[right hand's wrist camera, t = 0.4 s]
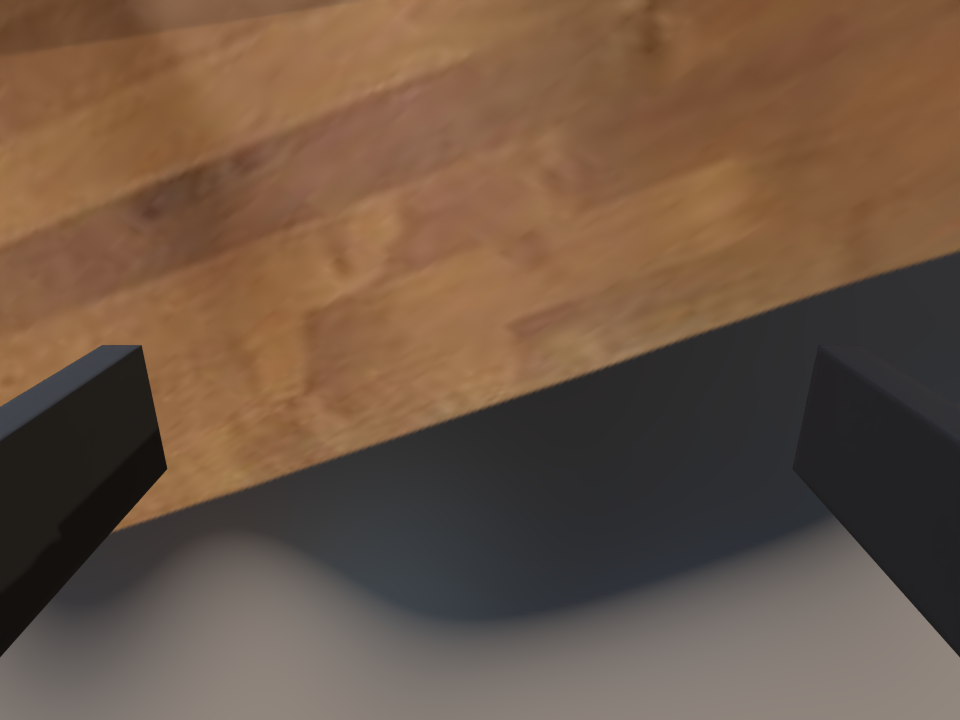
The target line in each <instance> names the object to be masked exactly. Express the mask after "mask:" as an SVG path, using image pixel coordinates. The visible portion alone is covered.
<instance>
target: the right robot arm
mask: <svg viewBox="0 0 960 720" xmlns="http://www.w3.org/2000/svg"><path fill="white" fill-rule="evenodd" d="M166 470H167V465H166V460H165V456H164V451H163V446H162V441H161V436H160V432H159V427H158V422H157V417H156V412H155V407H154V403H153V398H152V393H151V388H150V383H149V379H148V374H147V369H146V364H145V359H144V355H143V350H142V345H102V346H100V347H98V348H97V349H95V350H93V351H92V352H90V353H89V354H87V355H85V356H84V357H82V358H80V359H79V360H77V361H75V362H74V363H72V364H70V365H69V366H67V367H65V368H64V369H62V370H60V371H59V372H57V373H55V374H54V375H52V376H51V377H49V378H47V379H46V380H44V381H42V382H41V383H39V384H37V385H36V386H34V387H32V388H31V389H29V390H27V391H26V392H24V393H22V394H21V395H19V396H18V397H16V398H14V399H13V400H11V401H9V402H8V403H6V404H4V405H3V406H1V407H0V657H1V656H2V655H3V653H4V652H5V651H6V650H7V649H8V648H9V647H10V645H11V644H12V643H13V642H14V641H15V640H16V639H17V638H18V636H19V635H20V634H21V633H22V632H23V631H24V630H25V629H26V627H27V626H28V625H29V624H30V623H31V622H32V621H33V620H34V618H35V617H36V616H37V615H38V614H39V613H40V612H41V611H42V609H43V608H44V607H45V606H46V605H47V604H48V603H49V602H50V600H51V599H52V598H53V597H54V596H55V595H56V594H57V593H58V591H59V590H60V589H61V588H62V587H63V586H64V585H65V584H66V582H67V581H68V580H69V579H70V578H71V577H72V576H73V574H74V573H75V572H76V571H77V570H78V569H79V568H80V567H81V565H82V564H83V563H84V562H85V561H86V560H87V559H88V558H89V557H90V555H91V554H92V553H93V552H94V551H95V550H96V549H97V547H98V546H99V545H100V544H101V543H102V542H103V541H104V540H105V538H106V537H107V536H108V535H109V534H110V533H111V532H112V531H113V529H114V528H115V527H116V526H117V525H118V524H119V523H120V522H121V520H122V519H123V518H124V517H125V516H126V515H127V514H128V513H129V511H130V510H131V509H132V508H133V507H134V506H135V505H136V504H137V502H138V501H139V500H140V499H141V498H142V497H143V496H144V495H145V493H146V492H147V491H148V490H149V489H150V488H151V487H152V486H153V484H154V483H155V482H156V481H157V480H158V479H159V478H160V477H161V475H162V474H163V473H164V472H165V471H166ZM793 470H794V471H795V472H796V473H797V474H798V475H799V477H800V478H801V479H802V480H803V481H804V482H805V483H806V484H807V486H808V487H809V488H810V489H811V490H812V491H813V492H814V493H815V494H816V496H817V497H818V498H819V499H820V500H821V501H822V502H823V504H824V505H825V506H826V507H827V508H828V509H829V510H830V511H831V513H832V514H833V515H834V516H835V517H836V518H837V519H838V520H839V522H840V523H841V524H842V525H843V526H844V527H845V528H846V529H847V531H848V532H849V533H850V534H851V535H852V536H853V537H854V538H855V540H856V541H857V542H858V543H859V544H860V545H861V546H862V547H863V549H864V550H865V551H866V552H867V553H868V554H869V555H870V556H871V558H872V559H873V560H874V561H875V562H876V563H877V564H878V566H879V567H880V568H881V569H882V570H883V571H884V572H885V573H886V575H887V576H888V577H889V578H890V579H891V580H892V581H893V582H894V584H895V585H896V586H897V587H898V588H899V589H900V590H901V591H902V593H903V594H904V595H905V596H906V597H907V598H908V599H909V600H910V602H911V603H912V604H913V605H914V606H915V607H916V608H917V609H918V611H919V612H920V613H921V614H922V615H923V616H924V617H925V618H926V620H927V621H928V622H929V623H930V624H931V625H932V626H933V627H934V629H935V630H936V631H937V632H938V633H939V634H940V635H941V637H942V638H943V639H944V640H945V641H946V642H947V643H948V644H949V645H950V647H951V648H952V649H953V650H954V651H955V652H956V653H957V655H958V656H959V657H960V407H959V406H957V405H956V404H954V403H952V402H951V401H949V400H947V399H946V398H944V397H942V396H941V395H939V394H937V393H936V392H934V391H933V390H931V389H929V388H928V387H926V386H924V385H923V384H921V383H919V382H918V381H916V380H914V379H913V378H911V377H909V376H908V375H906V374H904V373H903V372H901V371H900V370H898V369H896V368H895V367H893V366H891V365H890V364H888V363H886V362H885V361H883V360H881V359H880V358H878V357H876V356H875V355H873V354H871V353H870V352H868V351H866V350H865V349H863V348H862V347H860V346H858V345H819V346H818V350H817V355H816V359H815V364H814V369H813V374H812V379H811V383H810V388H809V393H808V398H807V403H806V407H805V412H804V417H803V422H802V427H801V432H800V437H799V441H798V446H797V451H796V456H795V460H794V465H793Z"/></svg>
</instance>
